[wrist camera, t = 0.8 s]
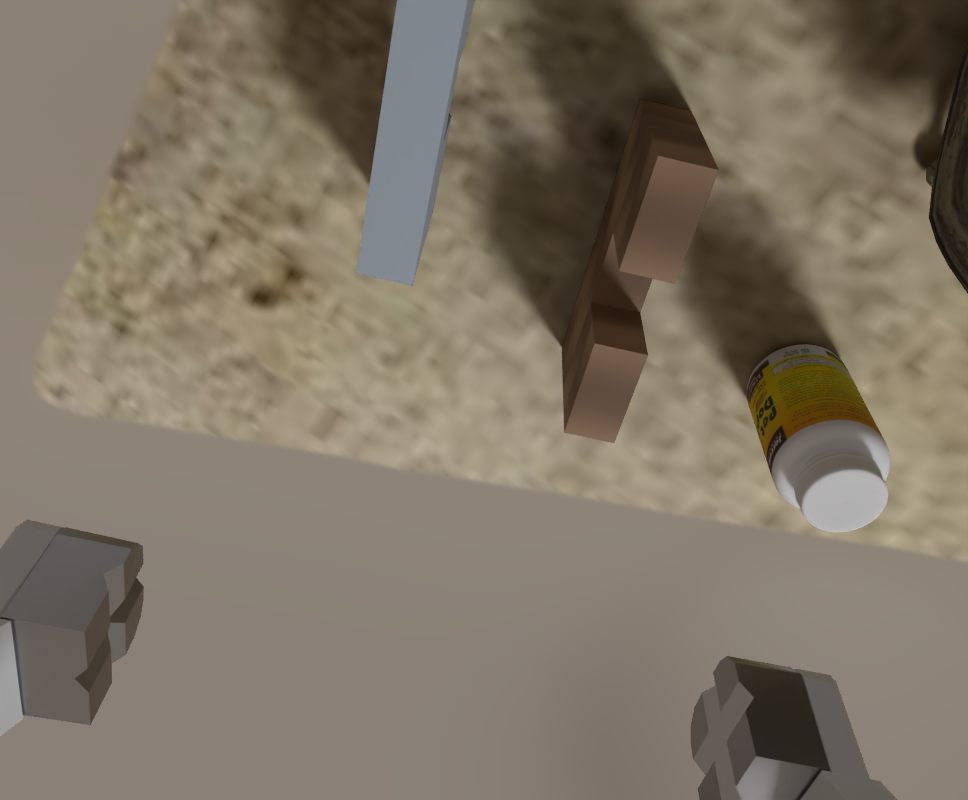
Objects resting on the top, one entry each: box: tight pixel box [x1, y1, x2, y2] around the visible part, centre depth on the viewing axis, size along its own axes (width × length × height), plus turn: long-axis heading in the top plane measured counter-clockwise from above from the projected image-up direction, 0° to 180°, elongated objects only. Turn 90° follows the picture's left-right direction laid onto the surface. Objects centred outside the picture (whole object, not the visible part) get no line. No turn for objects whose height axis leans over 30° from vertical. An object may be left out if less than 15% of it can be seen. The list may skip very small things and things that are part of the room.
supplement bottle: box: [747, 344, 890, 532], centre depth 45 cm, size 6×6×10 cm
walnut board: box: [562, 99, 719, 443], centre depth 42 cm, size 14×2×8 cm, turn 168°
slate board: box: [356, 0, 474, 286], centre depth 38 cm, size 14×2×8 cm, turn 168°
